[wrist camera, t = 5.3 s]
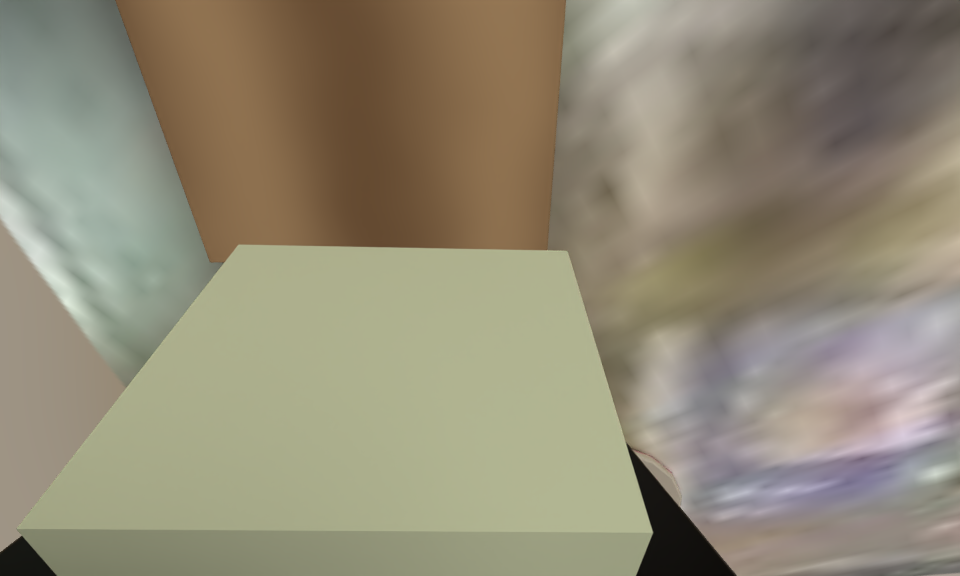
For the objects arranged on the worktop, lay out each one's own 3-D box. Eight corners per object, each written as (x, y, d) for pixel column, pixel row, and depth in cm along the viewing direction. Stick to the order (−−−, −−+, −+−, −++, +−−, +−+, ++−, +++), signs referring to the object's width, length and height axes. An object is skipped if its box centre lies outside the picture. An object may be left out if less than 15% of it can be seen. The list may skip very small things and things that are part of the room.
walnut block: (552, -166, 13) (581, -204, 9) (532, 200, 18) (546, 256, 15) (154, -162, 13) (43, -199, 9) (257, 204, 18) (210, 262, 15)
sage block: (567, 250, 8) (653, 532, 4) (537, 458, 11) (572, 737, 7) (238, 244, 8) (16, 529, 4) (296, 455, 10) (199, 737, 7)
